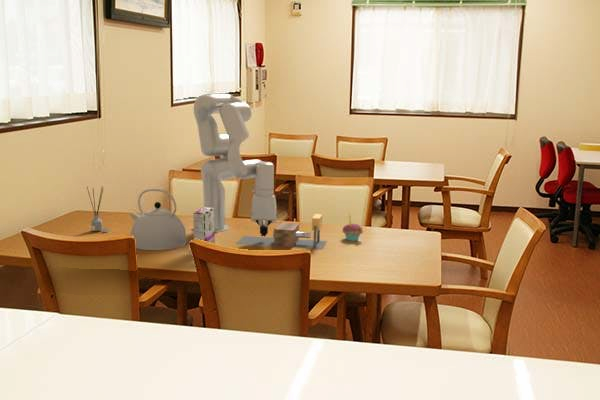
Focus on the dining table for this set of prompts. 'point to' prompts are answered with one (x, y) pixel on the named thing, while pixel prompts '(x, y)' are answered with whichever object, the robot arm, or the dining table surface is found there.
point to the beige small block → (317, 221)
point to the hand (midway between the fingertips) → (263, 235)
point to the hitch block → (290, 235)
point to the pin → (301, 234)
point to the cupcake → (352, 231)
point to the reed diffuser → (97, 217)
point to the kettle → (158, 227)
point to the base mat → (270, 242)
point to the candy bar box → (204, 224)
